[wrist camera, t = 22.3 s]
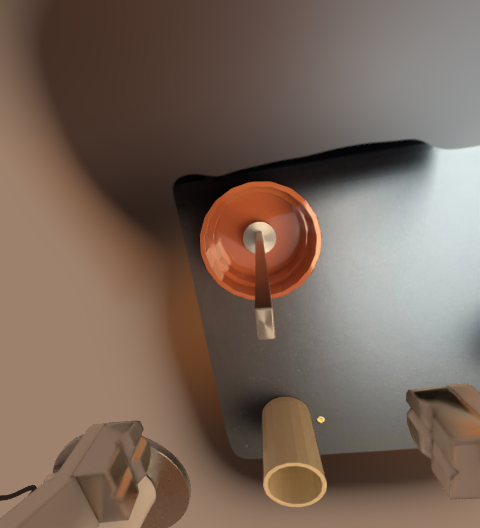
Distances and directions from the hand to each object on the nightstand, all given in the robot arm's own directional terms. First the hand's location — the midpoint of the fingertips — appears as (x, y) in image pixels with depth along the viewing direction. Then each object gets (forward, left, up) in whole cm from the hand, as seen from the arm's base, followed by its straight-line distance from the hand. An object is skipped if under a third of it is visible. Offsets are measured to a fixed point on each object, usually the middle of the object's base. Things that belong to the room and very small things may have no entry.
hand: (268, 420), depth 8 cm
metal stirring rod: (0, 0, -29) cm, 29 cm away
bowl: (0, 0, -30) cm, 30 cm away
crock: (-5, -32, -30) cm, 44 cm away
